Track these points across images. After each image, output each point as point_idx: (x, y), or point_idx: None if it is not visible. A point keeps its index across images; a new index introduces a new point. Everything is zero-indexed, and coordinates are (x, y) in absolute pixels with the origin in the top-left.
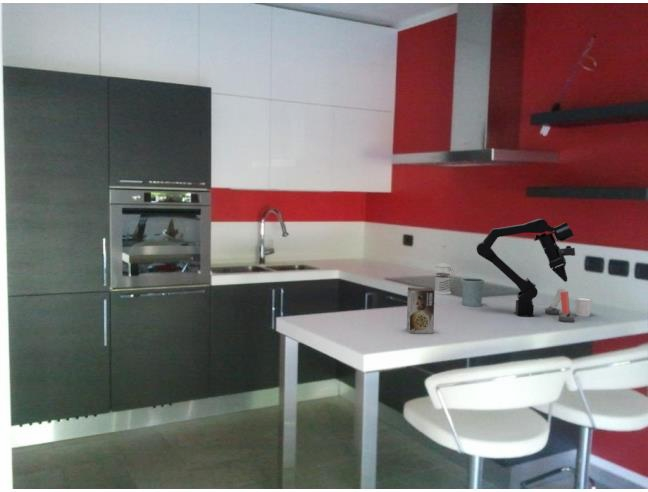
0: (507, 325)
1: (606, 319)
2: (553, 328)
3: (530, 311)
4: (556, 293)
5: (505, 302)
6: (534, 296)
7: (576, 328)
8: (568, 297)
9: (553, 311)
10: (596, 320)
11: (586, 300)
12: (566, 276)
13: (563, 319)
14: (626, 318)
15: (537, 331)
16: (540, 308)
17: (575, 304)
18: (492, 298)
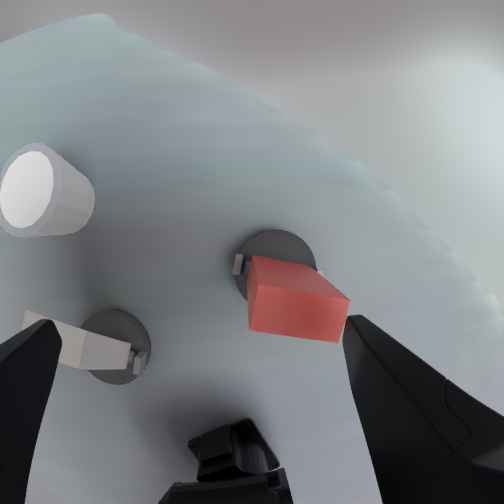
0: None
1: (128, 100)
2: (449, 303)
3: (240, 441)
4: (96, 366)
5: (28, 483)
6: (267, 478)
7: (411, 218)
8: (261, 273)
9: (144, 343)
10: (173, 133)
11: (55, 167)
12: (32, 341)
13: None
14: (80, 49)
15: (496, 340)
16: None
17: (46, 234)
18: None
